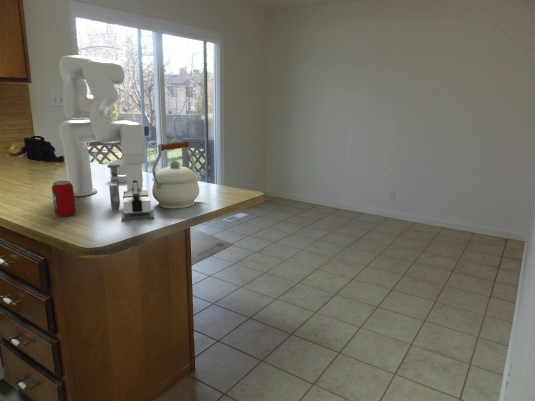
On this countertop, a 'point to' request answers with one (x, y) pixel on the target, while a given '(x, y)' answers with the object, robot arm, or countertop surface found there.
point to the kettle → (175, 181)
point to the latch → (114, 173)
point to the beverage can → (63, 198)
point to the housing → (116, 198)
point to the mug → (119, 168)
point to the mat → (137, 216)
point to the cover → (145, 204)
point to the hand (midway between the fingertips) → (137, 208)
